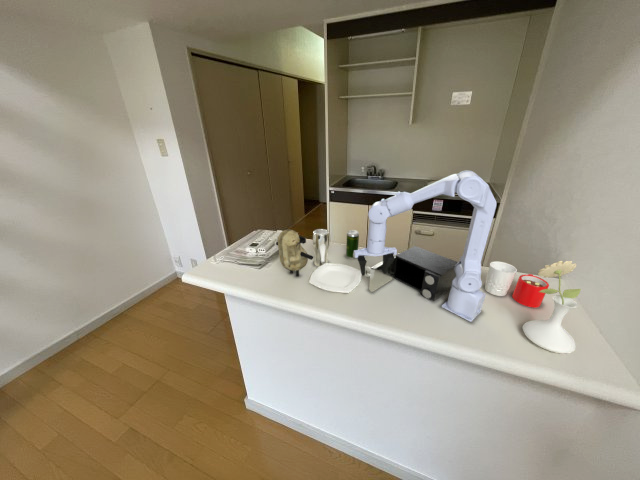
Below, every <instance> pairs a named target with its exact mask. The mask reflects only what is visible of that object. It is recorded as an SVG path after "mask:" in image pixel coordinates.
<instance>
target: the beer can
mask: <svg viewBox="0 0 640 480" xmlns="http://www.w3.org/2000/svg"><path fill="white" fill-rule="evenodd" d="M359 240H360V234H359V231H358V230H356V229H350V230H347V233H346V246H345V247H346V248H345V256H346V258H348V259H350V260H353V259H356V258H355V257H354V250H359V243H360V241H359Z"/></svg>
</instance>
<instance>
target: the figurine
mask: <svg viewBox="0 0 640 480" xmlns="http://www.w3.org/2000/svg"><path fill="white" fill-rule="evenodd" d="M306 243H307V239H306V237H305V236H302V235H299V233H298V232H297V231H295V230H293V229H284V230H282V231H281V232H280V233H279V235H278V237H277V241H276V243H275V245H276V246H277V247H278V255H279V256H278V257H279V262H280V264H281V265H282V267H283V268H285V269H286V270H288V271H289V273H290V274H291V275H292V274H294V271H295V277H296V278H297V277H298V278H299V277H300V271H301V269H303V268H305V266H306V265H307V263H308V261H309V260H311V261H313V259H314V256H313V255H311V254H310V253H309V254H308V253H307V251H306V250H305V248H304V247H303V246H302V245H304V244H306Z"/></svg>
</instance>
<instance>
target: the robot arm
mask: <svg viewBox="0 0 640 480" xmlns="http://www.w3.org/2000/svg"><path fill="white" fill-rule="evenodd" d="M455 194H457V196H458V197H459V198H460V199H462V200H463V201H466V202H468V203H469V204H471V205H472V207H473V211H472V215H471V218H470V223H469V226H468V227H469V228H468V232H467V236H466V240H465V244H464V249H463V253H462V254H461V256H460V257H459V261H457V262H458V263H457V264H456V266H455V268H454V270H455V273H456V277H455V278H454V280H453V281H452V285H451V288H450V289H449V293H448V298H447V300H446V301H445V302H444V303H443V304H441V308H442V309H445V310H446V311H448V312H451V313H452V314H454V315H456V316H458V317H459V318H462V319H464V320H465V321H468V322H470V323H471V322H473V321H474V320H475V318H477V317H478V316H479V315H480V313H481V312H482V309H483V306H484V302H485V299H486V293H485V292H483V291H482V290H480V289H481V288H482V286H483V282H482V279H481V276H482V260H483V256H484V253H485V249H486V245H487V242H488V238H489V234H490V230H491V227H492V224H493V219H494V216H495V213H496V209H497V204H498V203H497V201H496V198H495V197H494V194H493V192H492V189H491V188H490V185H489V184H488V183H487V182H486V181H485V180H483V178H482V177H481V176H480V175H478V174H477V173H476V172H474V171H472V170H468V169H467V170H466V169H465V170H461V171H459V173H453V174H450V175H448V176H446V177H443V178H441V179H438V180H437V181H435V182H432V183H430V184H428V185H426V186H423V187H422V188H419V189H416V190H415V191H413V192H411V193H410V192H407V191H402V192H401V191H396V192H395V195H393V196H390V197H388V198H386V199H385V198H381V200H379V201H375V202H373V204H372V205H371V206H370V208H369V210H368V213H367V214H368V215H367V216H368V219H369V221H368V223H369V224H368V227H367V228H368V229H367V241H366V243H367V245H366V247H364V248H360V249H359V248H358V250H354V257H355V259H357V261H358V264H359V268H360V271H361V274H362V276H363V277H365V266H367V260H366V257H382V261H383V265H382V272H383V273H384V274H386V272H387V270H388V268H389V266H390V264H391V263H392V262H393V261H394V259H395V257H396V255H398V249H397V248H396V247H390V246H389V247H387V246H386V238H387V237H386V236H387V228H388V227H387V219H388V218H392V217H395V216H397V215H400V214H403V213H405V212H408V211H410V210H412V209H413V206H414V205H415V204H417V203H421V202H423V201H426V200H429V199H432V198H435V197H439V196H441V195H444V196H448V197H452V198H453V197H454V198H455V196H456V195H455Z"/></svg>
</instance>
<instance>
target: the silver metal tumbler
mask: <svg viewBox="0 0 640 480" xmlns="http://www.w3.org/2000/svg"><path fill="white" fill-rule="evenodd" d="M312 247H313V252H314V263H313V264H314V265H315V266H316V267H317V268H318V267H320V266H321V265H323V264H325V263H329V260H328V253H329V249H330V248H329V247H330V231H329V230H328V229H325V228H317V229H314V230H313V231H312Z"/></svg>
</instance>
